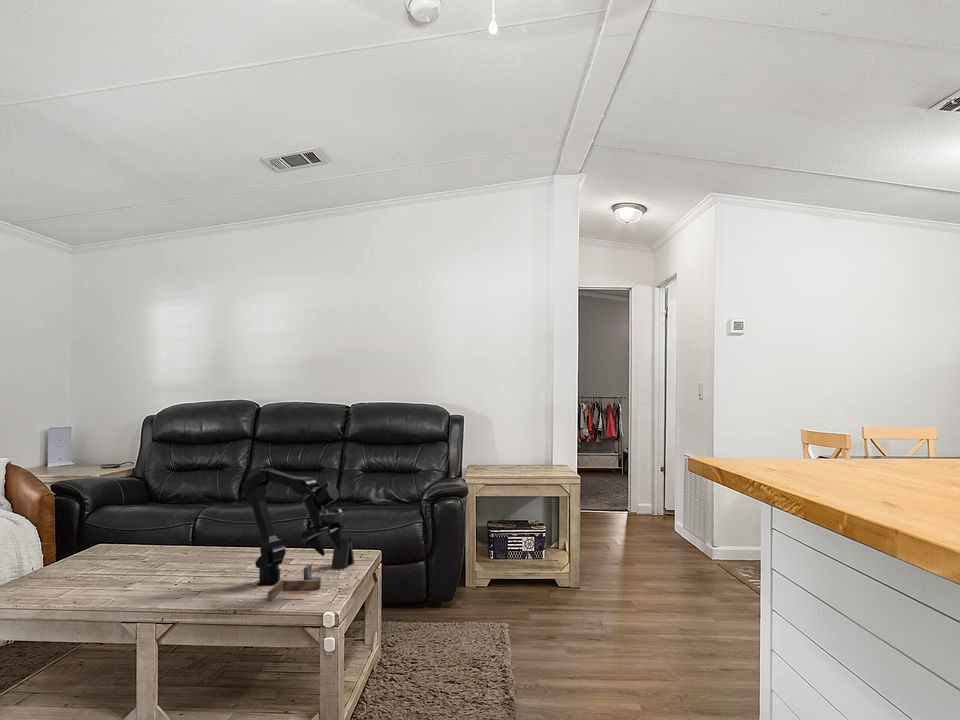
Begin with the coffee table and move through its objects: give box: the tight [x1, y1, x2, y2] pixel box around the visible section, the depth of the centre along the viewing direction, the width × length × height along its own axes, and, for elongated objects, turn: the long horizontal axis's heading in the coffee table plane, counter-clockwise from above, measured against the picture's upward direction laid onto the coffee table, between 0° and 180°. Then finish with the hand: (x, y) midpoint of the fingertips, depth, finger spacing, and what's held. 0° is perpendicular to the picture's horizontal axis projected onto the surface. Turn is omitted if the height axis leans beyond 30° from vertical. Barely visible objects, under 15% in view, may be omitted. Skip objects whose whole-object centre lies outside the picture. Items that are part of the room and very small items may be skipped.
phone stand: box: [330, 534, 355, 569], centre depth 274 cm, size 9×6×12 cm, turn 166°
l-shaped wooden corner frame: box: [267, 579, 322, 602], centre depth 236 cm, size 14×15×3 cm
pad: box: [283, 591, 311, 600], centre depth 234 cm, size 7×8×1 cm
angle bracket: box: [303, 564, 322, 580], centre depth 250 cm, size 5×5×6 cm
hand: (332, 552), depth 238 cm, fingers open, 9 cm apart
